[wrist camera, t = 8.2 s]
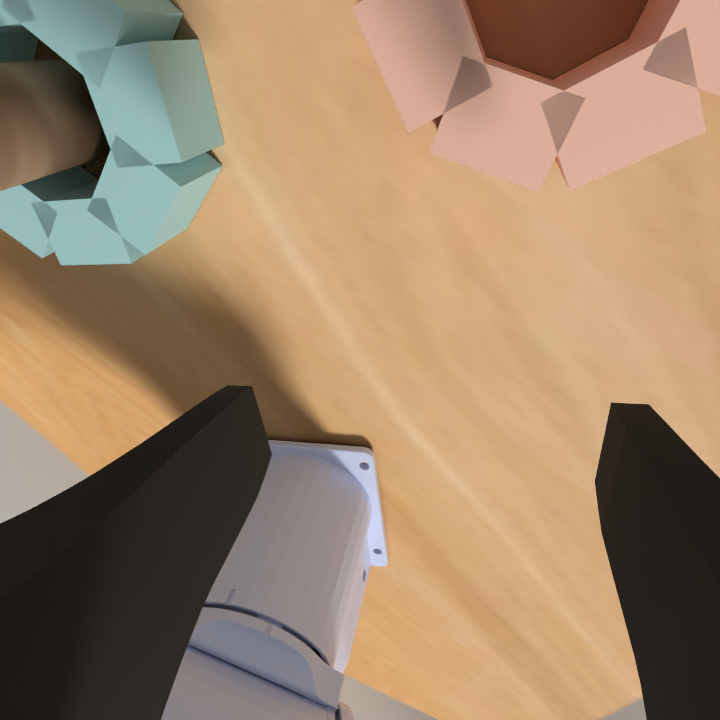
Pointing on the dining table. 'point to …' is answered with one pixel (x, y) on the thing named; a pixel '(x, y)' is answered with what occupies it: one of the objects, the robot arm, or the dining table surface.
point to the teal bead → (117, 130)
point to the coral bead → (546, 90)
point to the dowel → (45, 121)
